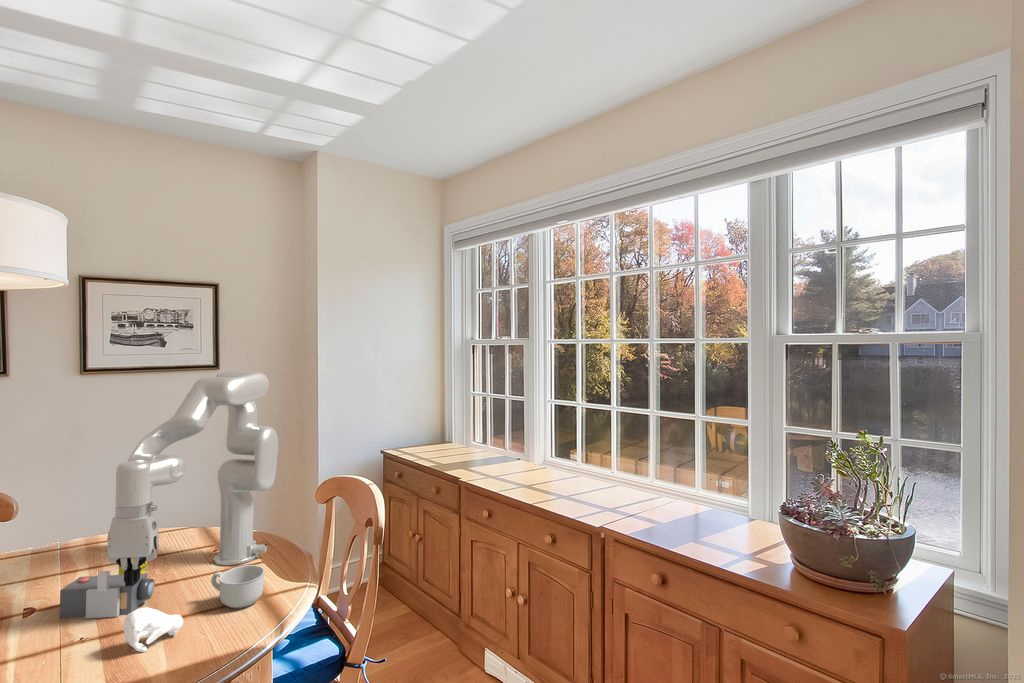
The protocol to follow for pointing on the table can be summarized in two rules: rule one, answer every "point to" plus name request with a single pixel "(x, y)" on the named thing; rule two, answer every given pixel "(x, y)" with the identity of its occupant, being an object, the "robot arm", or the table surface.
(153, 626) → the white figurine
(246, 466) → the robot arm
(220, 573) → the teacup
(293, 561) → the table surface
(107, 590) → the grey t-shaped piece
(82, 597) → the camera body
